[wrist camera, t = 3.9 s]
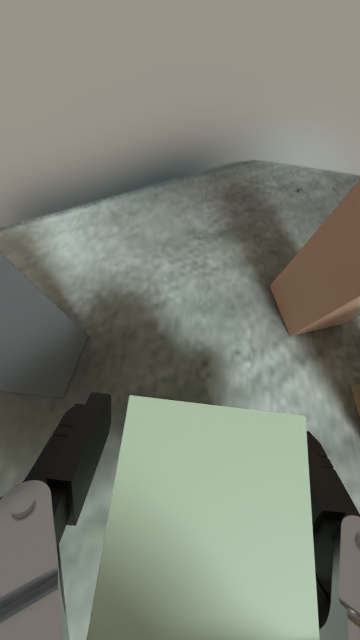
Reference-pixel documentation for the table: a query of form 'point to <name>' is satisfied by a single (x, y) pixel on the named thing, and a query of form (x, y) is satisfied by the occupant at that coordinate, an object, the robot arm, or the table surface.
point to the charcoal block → (34, 338)
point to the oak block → (356, 395)
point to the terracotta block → (324, 274)
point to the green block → (208, 528)
